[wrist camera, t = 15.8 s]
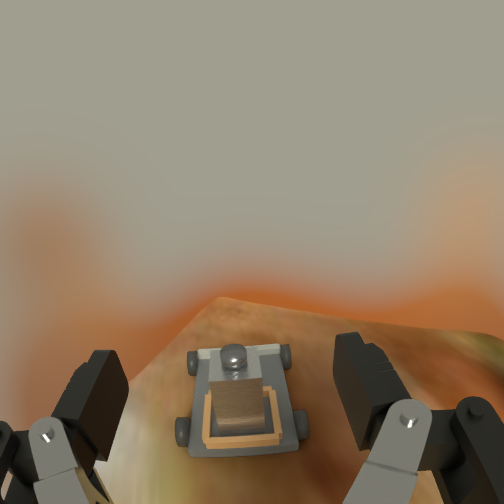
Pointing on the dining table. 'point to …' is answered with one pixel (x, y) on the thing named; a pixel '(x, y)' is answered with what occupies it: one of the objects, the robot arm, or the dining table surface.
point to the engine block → (237, 390)
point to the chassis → (275, 411)
